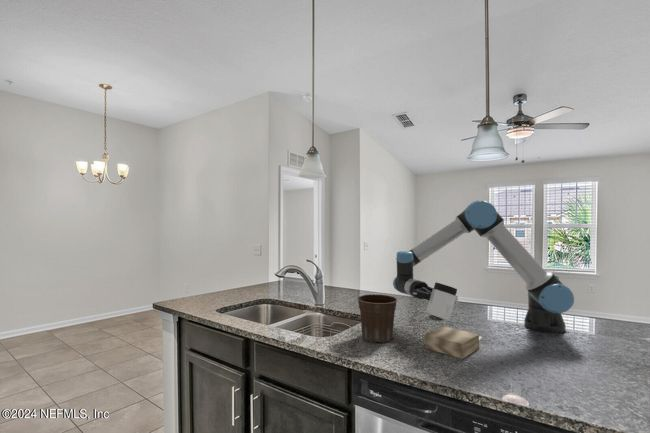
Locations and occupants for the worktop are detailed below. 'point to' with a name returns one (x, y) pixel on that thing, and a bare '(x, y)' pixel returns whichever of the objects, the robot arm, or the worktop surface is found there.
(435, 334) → the maple block
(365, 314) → the plant pot
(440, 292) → the jar
